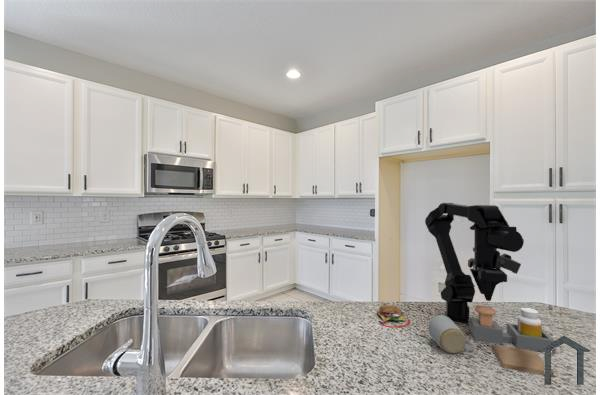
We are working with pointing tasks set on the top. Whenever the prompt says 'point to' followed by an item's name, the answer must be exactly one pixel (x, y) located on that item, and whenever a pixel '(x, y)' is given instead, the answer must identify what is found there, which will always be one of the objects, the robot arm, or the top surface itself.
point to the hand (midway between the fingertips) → (485, 297)
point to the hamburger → (391, 315)
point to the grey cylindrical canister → (448, 335)
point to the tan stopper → (485, 315)
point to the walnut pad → (520, 359)
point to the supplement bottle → (529, 323)
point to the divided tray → (509, 336)
